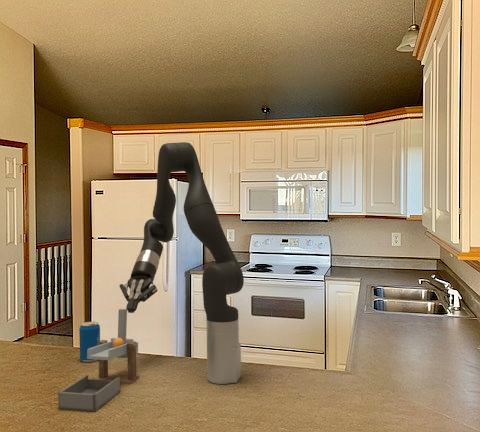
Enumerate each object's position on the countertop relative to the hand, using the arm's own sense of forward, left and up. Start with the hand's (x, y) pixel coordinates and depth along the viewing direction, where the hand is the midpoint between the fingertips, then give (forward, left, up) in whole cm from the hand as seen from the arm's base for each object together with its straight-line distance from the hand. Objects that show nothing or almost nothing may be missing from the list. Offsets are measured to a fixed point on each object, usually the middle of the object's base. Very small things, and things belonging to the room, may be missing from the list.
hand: (130, 311), depth 146 cm
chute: (0, +11, -12) cm, 16 cm away
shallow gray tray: (0, +24, -18) cm, 30 cm away
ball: (0, +8, -8) cm, 11 cm away
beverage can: (+18, -7, -18) cm, 27 cm away
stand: (0, +9, -18) cm, 20 cm away
